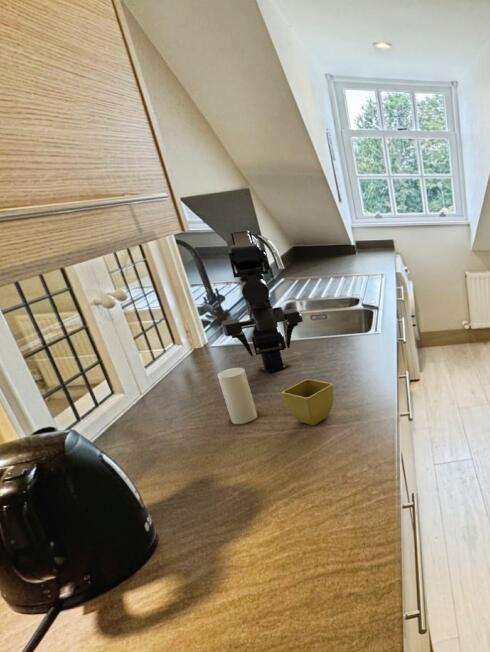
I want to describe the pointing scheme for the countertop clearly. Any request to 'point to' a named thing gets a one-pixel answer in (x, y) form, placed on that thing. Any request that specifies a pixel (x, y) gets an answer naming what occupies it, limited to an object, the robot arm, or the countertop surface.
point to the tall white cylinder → (237, 395)
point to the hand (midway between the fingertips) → (270, 351)
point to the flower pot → (309, 400)
